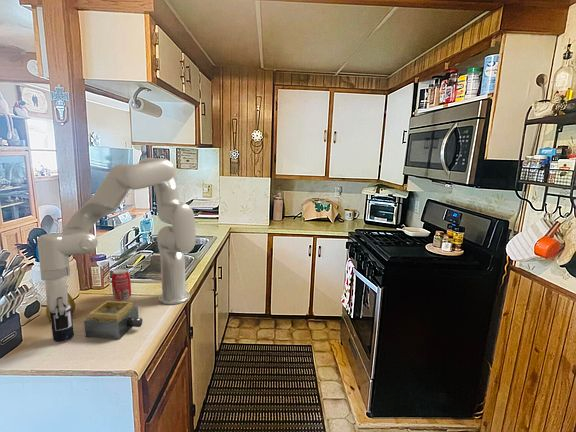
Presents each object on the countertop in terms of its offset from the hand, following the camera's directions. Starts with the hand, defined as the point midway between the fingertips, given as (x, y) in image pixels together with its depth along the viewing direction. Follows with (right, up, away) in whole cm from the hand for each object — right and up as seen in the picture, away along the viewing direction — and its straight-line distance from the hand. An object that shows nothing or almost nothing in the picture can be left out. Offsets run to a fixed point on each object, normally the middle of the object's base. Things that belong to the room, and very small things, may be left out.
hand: (60, 322), depth 106 cm
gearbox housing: (+15, -5, +8) cm, 18 cm away
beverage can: (0, -6, +2) cm, 7 cm away
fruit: (-10, -4, +15) cm, 18 cm away
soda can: (+3, 0, +33) cm, 33 cm away
